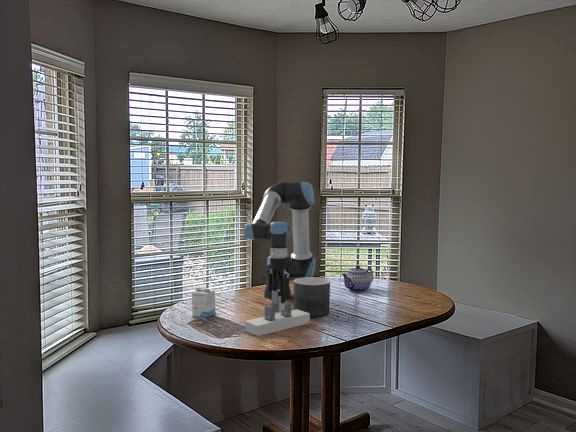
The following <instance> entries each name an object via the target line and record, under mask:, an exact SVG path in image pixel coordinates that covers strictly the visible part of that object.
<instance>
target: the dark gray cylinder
mask: <svg viewBox="0 0 576 432" xmlns="http://www.w3.org/2000/svg"><path fill="white" fill-rule="evenodd" d="M330 294H331V281H330V280H329V279H327V278H323V277H314V276H313V277H305V278H298V279H297V278H294V280H293V310H296V309H297V310H300V311H304V312H307V313H310V318H321V317H326V316H328V315H329V314H330V313H331V312H330V310H331V309H330V304H331V301H330V300H331V295H330Z"/></svg>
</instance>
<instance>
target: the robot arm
mask: <svg viewBox="0 0 576 432" xmlns="http://www.w3.org/2000/svg"><path fill="white" fill-rule="evenodd" d="M314 193H315V192H314V187H313V185H312V183H310V182H307V181H279V182H277V183H275V184H273V185H271V186H270V187H268V188H267V190H265V191H264V194H263V196H262V202H261V205H260V207H259V209H258V211H257V213H256V215H255V217H254V218H253V221H252V222H250V223H249V222H247V223H245V224H244V228H243V234H244V238H245V239H246V240H253V241H270V242H269V243H270V244H269V246H270V247H269V248H270V249H269V252H270V253H269V254H270V255H269V256H268V257H267V258H266V259H267V260H266V261H267V262H266V278H267V279H266V285H265V288H264V290H263V297H264V298H266V299H271V300H272V290H276V289H280V295H279V311H280V312H281V310H285V302H286V299H288V298H289V299H290V298H291V297H292V291H291V287H290V279H298V278H305V277H314V274H315V269H316V263H317V262H316V260H317V259H316V257H313V256H314V255H313V253H312V252H311V251H310V250H311V249H310V224H309V223H310V218H309V210H311V208H312V205H314V203H315V194H314ZM282 204H283V205H288V209H289V210H291V213H292V214H291V215H292V216H291V217H292V225H290V224H288V223H287V222H286V221H272V222H271V220H272V218H273V216H274V213H275V211H276V210H277V208H278V207H279V206H280V205H282ZM270 222H271V223H270ZM291 238H293V239H292V242H293V252H292V253H291V255H289V253H288V241H289V240H290V239H291Z"/></svg>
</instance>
